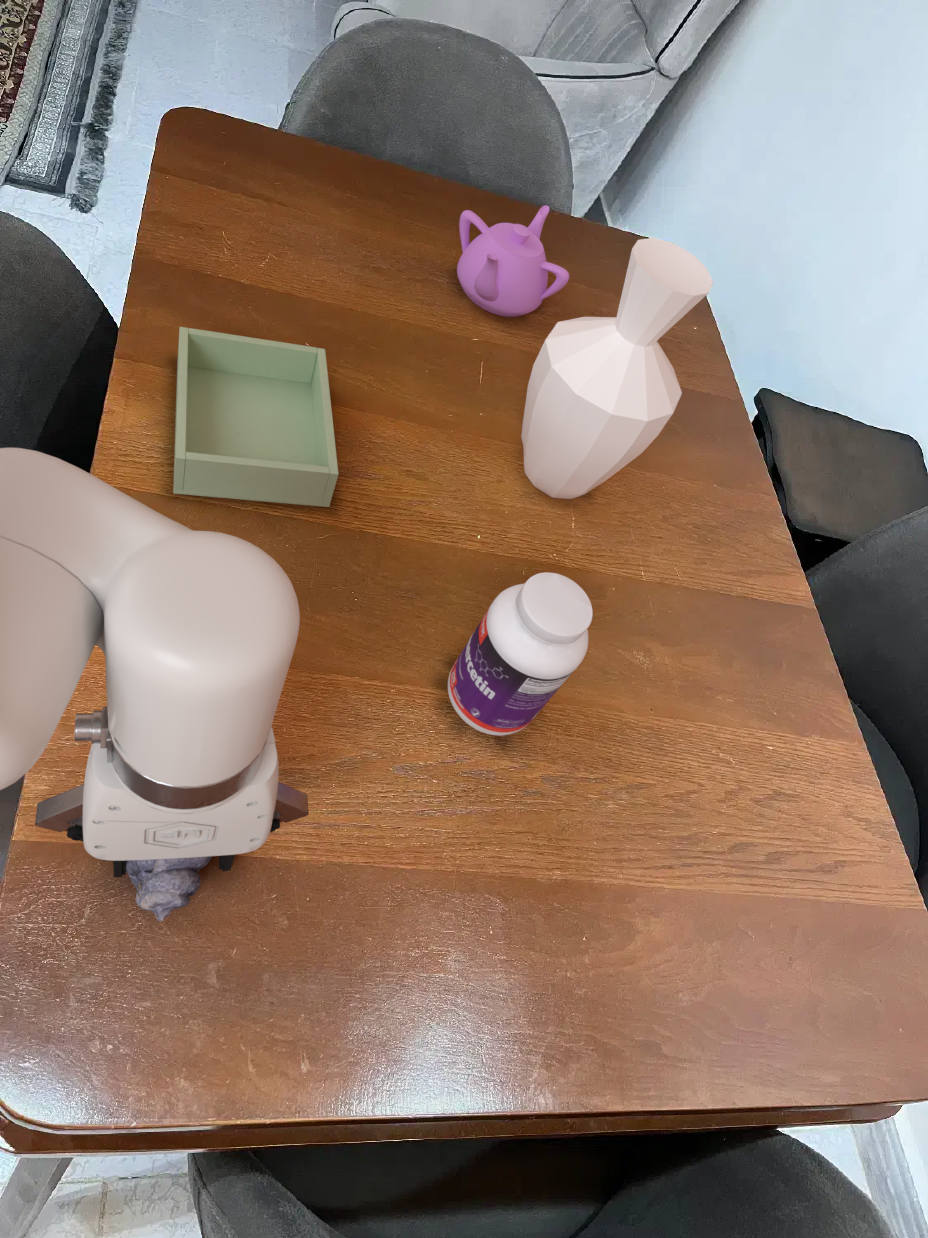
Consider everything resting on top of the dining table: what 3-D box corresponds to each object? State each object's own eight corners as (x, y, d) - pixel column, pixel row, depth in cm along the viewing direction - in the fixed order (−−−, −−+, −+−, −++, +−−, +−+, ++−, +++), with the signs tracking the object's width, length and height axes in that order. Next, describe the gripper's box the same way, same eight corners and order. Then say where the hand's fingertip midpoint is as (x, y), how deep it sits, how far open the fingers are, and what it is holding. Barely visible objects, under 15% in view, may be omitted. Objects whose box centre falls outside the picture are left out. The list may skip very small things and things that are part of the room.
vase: (613, 537, 87) (752, 345, 68) (485, 492, 85) (591, 279, 65) (618, 447, 96) (742, 254, 76) (502, 404, 94) (600, 193, 74)
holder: (173, 493, 72) (175, 457, 69) (177, 363, 81) (179, 325, 78) (329, 507, 77) (338, 474, 74) (317, 383, 86) (325, 348, 82)
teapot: (464, 321, 100) (489, 255, 93) (440, 249, 107) (461, 183, 100) (552, 332, 105) (582, 271, 98) (524, 263, 112) (550, 201, 105)
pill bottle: (434, 658, 72) (491, 556, 60) (519, 654, 75) (588, 556, 63) (456, 745, 68) (522, 652, 56) (544, 737, 71) (623, 648, 59)
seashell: (178, 788, 60) (155, 935, 54) (128, 761, 56) (99, 917, 50) (243, 776, 58) (227, 925, 53) (197, 747, 54) (175, 906, 49)
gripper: (-18, 809, 37) (21, 920, 51) (366, 797, 43) (306, 899, 57) (4, 662, 41) (35, 802, 55) (353, 669, 47) (300, 794, 61)
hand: (173, 850), depth 56 cm, fingers closed on seashell, 5 cm apart
